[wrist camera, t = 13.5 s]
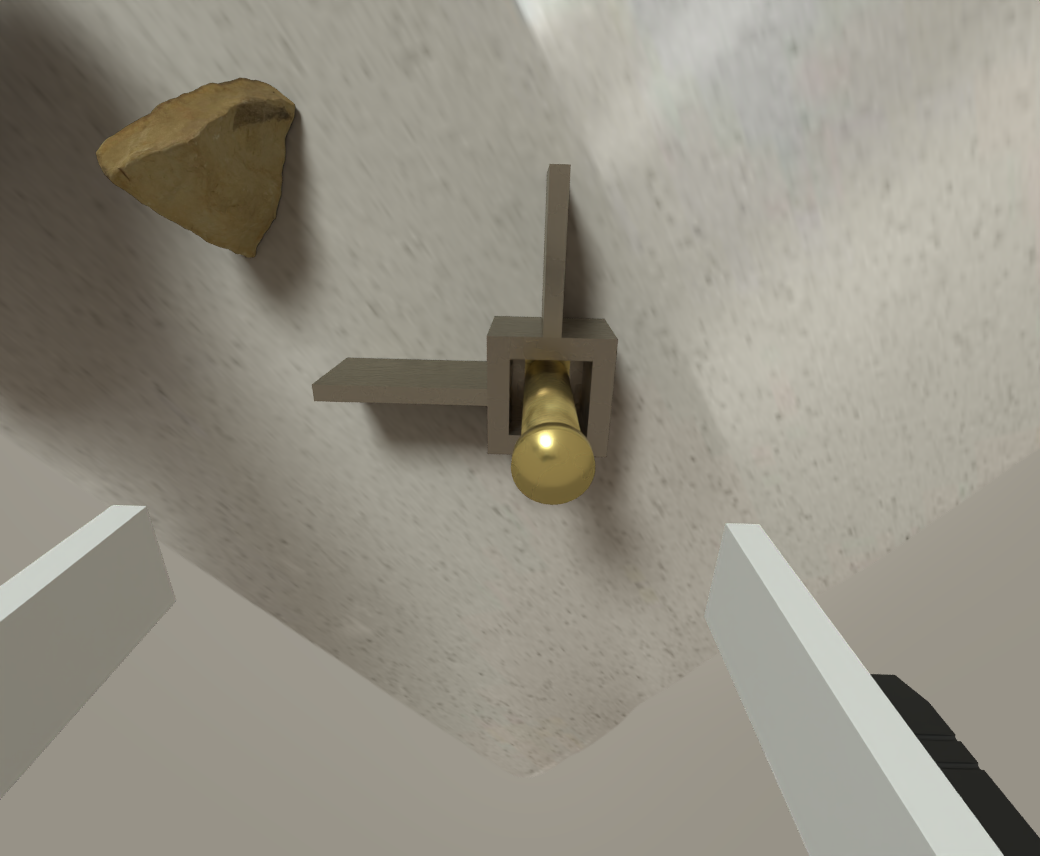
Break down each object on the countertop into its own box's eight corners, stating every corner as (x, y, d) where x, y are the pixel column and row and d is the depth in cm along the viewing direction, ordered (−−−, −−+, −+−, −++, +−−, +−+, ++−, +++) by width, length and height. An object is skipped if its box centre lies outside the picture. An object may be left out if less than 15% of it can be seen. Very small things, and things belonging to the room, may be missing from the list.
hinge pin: (519, 399, 41) (510, 503, 26) (520, 348, 39) (511, 428, 24) (571, 400, 41) (591, 506, 26) (574, 349, 39) (598, 431, 24)
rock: (234, 14, 30) (100, 103, 31) (243, 64, 26) (86, 167, 26) (345, 171, 39) (239, 236, 40) (366, 229, 35) (246, 302, 35)
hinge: (353, 413, 43) (321, 448, 36) (325, 169, 36) (278, 158, 29) (595, 420, 42) (606, 457, 36) (616, 174, 35) (634, 165, 29)
